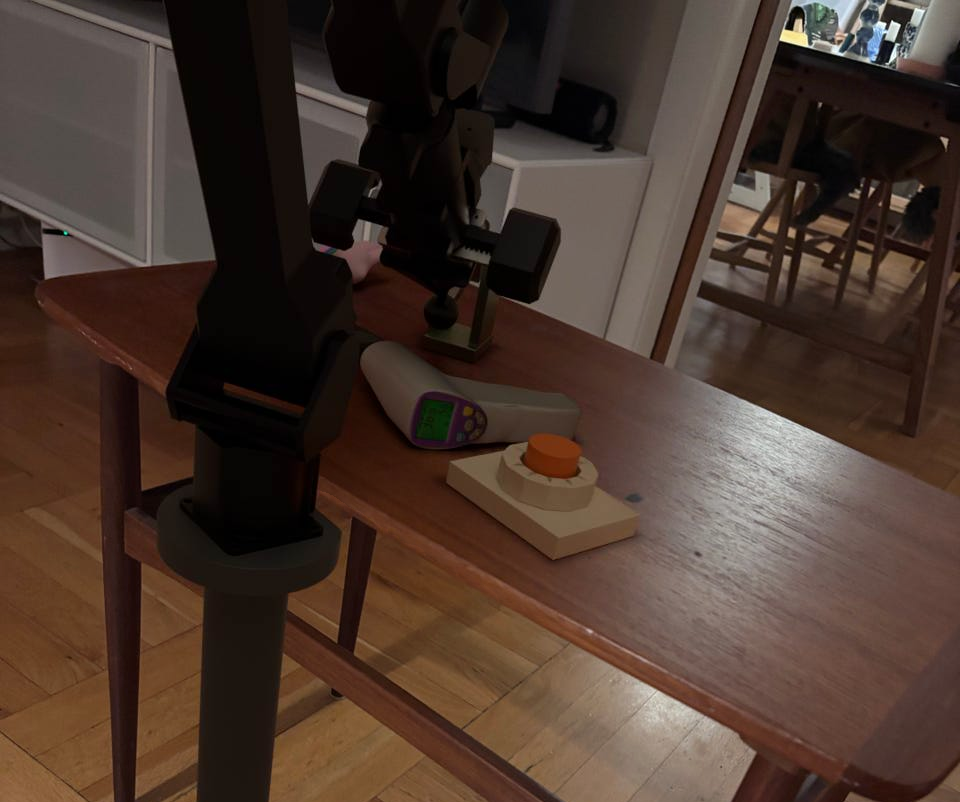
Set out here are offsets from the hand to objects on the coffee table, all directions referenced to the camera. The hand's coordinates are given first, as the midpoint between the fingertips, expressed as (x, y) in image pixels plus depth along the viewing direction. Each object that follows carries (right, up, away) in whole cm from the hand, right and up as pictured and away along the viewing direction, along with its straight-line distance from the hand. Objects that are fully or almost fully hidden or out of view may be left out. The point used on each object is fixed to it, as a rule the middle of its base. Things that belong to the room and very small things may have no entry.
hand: (444, 291), depth 82 cm
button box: (+7, -20, -14) cm, 25 cm away
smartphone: (-13, -1, +6) cm, 14 cm away
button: (+8, -18, -16) cm, 25 cm away
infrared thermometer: (+2, -11, -3) cm, 12 cm away
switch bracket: (+1, -2, +10) cm, 10 cm away
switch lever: (+1, +1, +4) cm, 5 cm away
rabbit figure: (-12, +7, +18) cm, 23 cm away
